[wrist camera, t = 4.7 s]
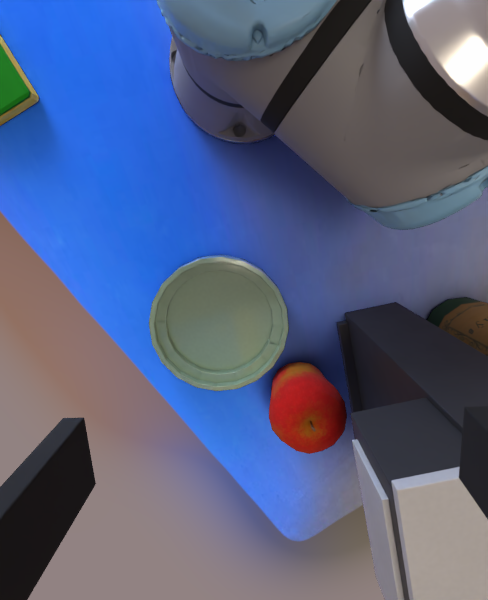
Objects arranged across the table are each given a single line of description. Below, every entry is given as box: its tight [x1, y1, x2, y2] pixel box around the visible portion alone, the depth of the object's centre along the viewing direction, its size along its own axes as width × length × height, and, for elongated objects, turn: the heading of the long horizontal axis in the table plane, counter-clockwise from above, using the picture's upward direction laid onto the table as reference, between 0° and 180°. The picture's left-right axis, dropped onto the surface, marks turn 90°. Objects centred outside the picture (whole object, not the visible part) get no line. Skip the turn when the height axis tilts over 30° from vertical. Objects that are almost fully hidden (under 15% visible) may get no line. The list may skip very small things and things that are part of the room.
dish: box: [149, 255, 289, 391], centre depth 49 cm, size 16×16×3 cm
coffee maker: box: [337, 302, 488, 600], centre depth 37 cm, size 12×16×31 cm
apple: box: [269, 362, 347, 454], centre depth 46 cm, size 9×8×12 cm
